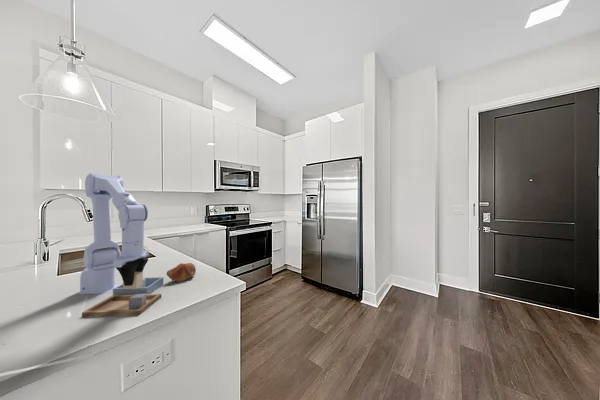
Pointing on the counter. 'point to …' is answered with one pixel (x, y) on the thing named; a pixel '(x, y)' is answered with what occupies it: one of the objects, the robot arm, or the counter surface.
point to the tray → (119, 306)
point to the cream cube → (135, 281)
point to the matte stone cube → (137, 301)
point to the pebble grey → (143, 283)
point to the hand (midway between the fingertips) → (132, 283)
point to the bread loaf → (182, 272)
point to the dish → (151, 286)
